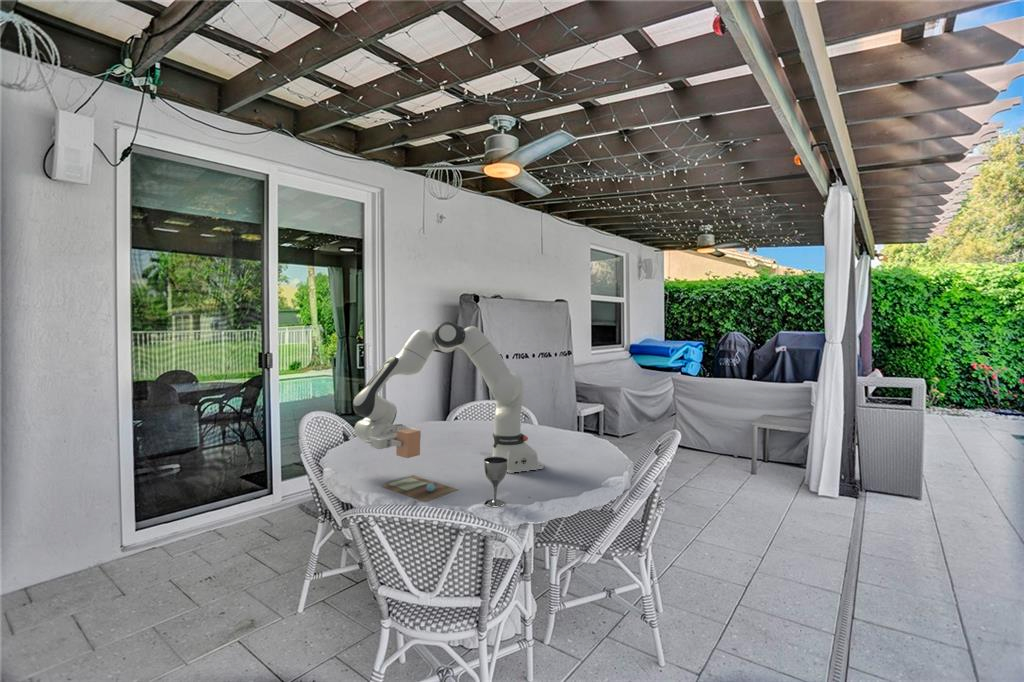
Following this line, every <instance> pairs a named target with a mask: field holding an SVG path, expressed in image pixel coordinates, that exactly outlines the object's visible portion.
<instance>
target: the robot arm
mask: <svg viewBox="0 0 1024 682" xmlns="http://www.w3.org/2000/svg"><path fill="white" fill-rule="evenodd" d="M456 349H461V350H463V352H464V353H466V355H467V357H468V358H469V359H470V361H471V362H472V363H473V365H474V366H475V367H476V369H477V370H478V371H479V373H480V374H481V376H482V378H483V379H484V380H483V381H485V383H486V385H487V387H488V388H489V390H490V392H491V395H492V397H493V398H494V399H495V400H496V402H495V411H494V415H493V416H494V417H493V433H492V455H491V457H504V458H506V459H507V460H508V465H507V472H508V474H515V473H514V472H519V473H522V472H521V471H527V472H530V471H529V470H535V469H541V468H543V469H544V464H543V462H542V461H540V460H539V457H538V454H537V453H538V452H536V451H537V450H535V449H534V448H533V447H532V446H530V445H529V444H528V443H527V441H528V440H529V437H528V436H527V435H525V434H523V433H522V432H521V426H522V425H521V423H522V421H521V420H522V407H523V405H522V404H523V398H524V397H523V395H524V382H523V379H522V378H521V376H520V375H518V374H517V373H514V372H510V369H509V368H508V367H507V365H506V363H505V361H504V359H503V357H502V355H501V354H500V353H499V351H498V350H497V349H496V348H495V346H494V345H493V343H492V342H491V341H490V339H489V338H488V337H487V336H486V335H485V333H483V332H482V331H481V330H480V329H479V328H478V327H477V326H475V325H474V326H473V325H470V326H467V327H465V328H464V327H463V326H460V325H458V324H456V323H453V322H451V321H443V322H441V323H439V324H438V325H437V326H436V327H435V329H434V331H428V330H426V329H416V330H415V331H413V333H412V334H411V335H410V337H409V338H408V339H407V340H406V342H405V344H404V345H403V346H402V348H401V350H400V351H399V353H398V354H396V355H395V356H391V357H389V358H387V360H385V362H384V363H382V365H381V366H380V368H379V369H378V370H377V371H376V372H375V373H374V375H373V376H372V377H371V378H370V379H369V381H368V382H367V384H366V385H365V386H364V387H363V388H362V389H361V390H360V391H359V392H358V393H356V395H355V396H354V398H353V400H352V408H353V411H354V413H355V414H356V415H357V416H360V417H363V419H359V420H358V421H357V422H356V423H355V425H354V429H353V430H354V434H355V436H356V437H357V439H359V440H360V441H362V442H364V443H366V444H369V445H370V447H372V448H374V449H377V450H383V449H389V448H392V447H396V446H399V447H400V446H403V443H404V442H403V441H401V440H400V441H397V431H398V430H403V429H408V428H411V429H415V430H419V431H420V440H421V438H422V437H421V436H422V435H421V434H422V432H421V430H420V429H418V428H415V427H412V426H406V424H404V423H403V424H402V423H399V424H397V423H396V424H394V422H395V420H396V418H397V414H398V413H397V412H398V411H397V407H396V404H394V403H393V402H391V401H389V400H388V399H386V398H383V397H382V396H380V395H379V392H380V391H381V390H382V388H383V387H384V386H385V385H386V383H387V382H388V381H389V380H390V378H392V377H393V376H394V377H395V376H396V375H401V376H414V375H416V374H418V373H420V372H421V371H422V369H423V368H424V366H425V364H426V362H427V361H428V359H429V357H430V355H431V354H432V352H437V353H441V354H451V353H453V352H455V351H456ZM507 472H506V473H507Z"/></svg>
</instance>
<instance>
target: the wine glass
mask: <svg viewBox="0 0 1024 682" xmlns="http://www.w3.org/2000/svg"><path fill="white" fill-rule="evenodd" d="M507 465H508V460H507V459H506V458H504V457H492V456H487V457H485V458H484V459H483V467H484V474H485V477H486V479H487V480H488V481H489V482H490V483H491V485H492V488H493V499H494V500H493V499H489V500H486V501H484V505H485V504H487V505H490V506H501V505H503V504H505V503H506V502H505V501H504V500H502V499H497V492H498V486H499V484H501V482H502V481H503V480H505V477H506V475H507ZM501 500H502V501H501ZM503 501H504V502H505V503H504V502H503ZM505 505H506V504H505Z"/></svg>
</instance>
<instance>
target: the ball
mask: <svg viewBox="0 0 1024 682" xmlns="http://www.w3.org/2000/svg"><path fill="white" fill-rule="evenodd" d="M426 489H427V491H429V492H432V491H434V489H435V485H434V484H433V483H429V484H428V485H427V487H426Z"/></svg>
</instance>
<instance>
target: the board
mask: <svg viewBox="0 0 1024 682" xmlns="http://www.w3.org/2000/svg"><path fill="white" fill-rule="evenodd" d="M429 483H433V484H434V485H435V489H434V491H432V492H429V491H427V489H426V487H427V485H428V484H429ZM380 487H381V488H384V489H387V490H389V491H393V492H395V493H398V494H401V495H403V496H407V497H409V498H412V499H415V500H418V501H420V502H423V503H426V502H429V501H432V500H436V499H437V498H438V499H439V498H440V497H443V496H445V495H448V494H452V493H454V492H456V491H459V489H458V488H454V487H452V486H448V485H445V484H442V483H439V482H435V481H432V480H429V479H426V478H423V477H419V476H417V475H410V476H408V477H405V478H401V479H398V480H395V481H391V482H390V483H385V484H382V485H380Z"/></svg>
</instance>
